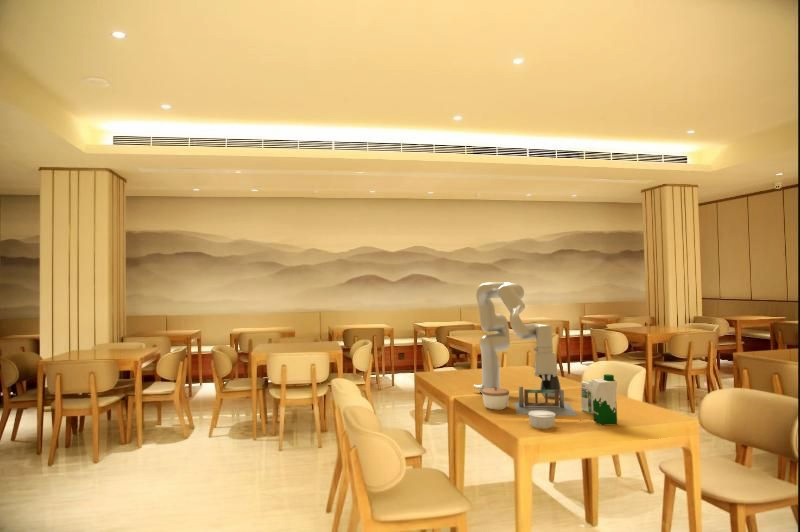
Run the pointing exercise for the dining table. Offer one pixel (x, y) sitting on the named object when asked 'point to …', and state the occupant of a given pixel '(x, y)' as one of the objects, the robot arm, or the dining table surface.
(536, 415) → the ramekin
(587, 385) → the syrup box
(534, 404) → the gate leaf
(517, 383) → the dining table surface
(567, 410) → the gate base
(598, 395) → the milk carton
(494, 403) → the lidded bowl
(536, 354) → the robot arm
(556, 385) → the dark grey rounded block
